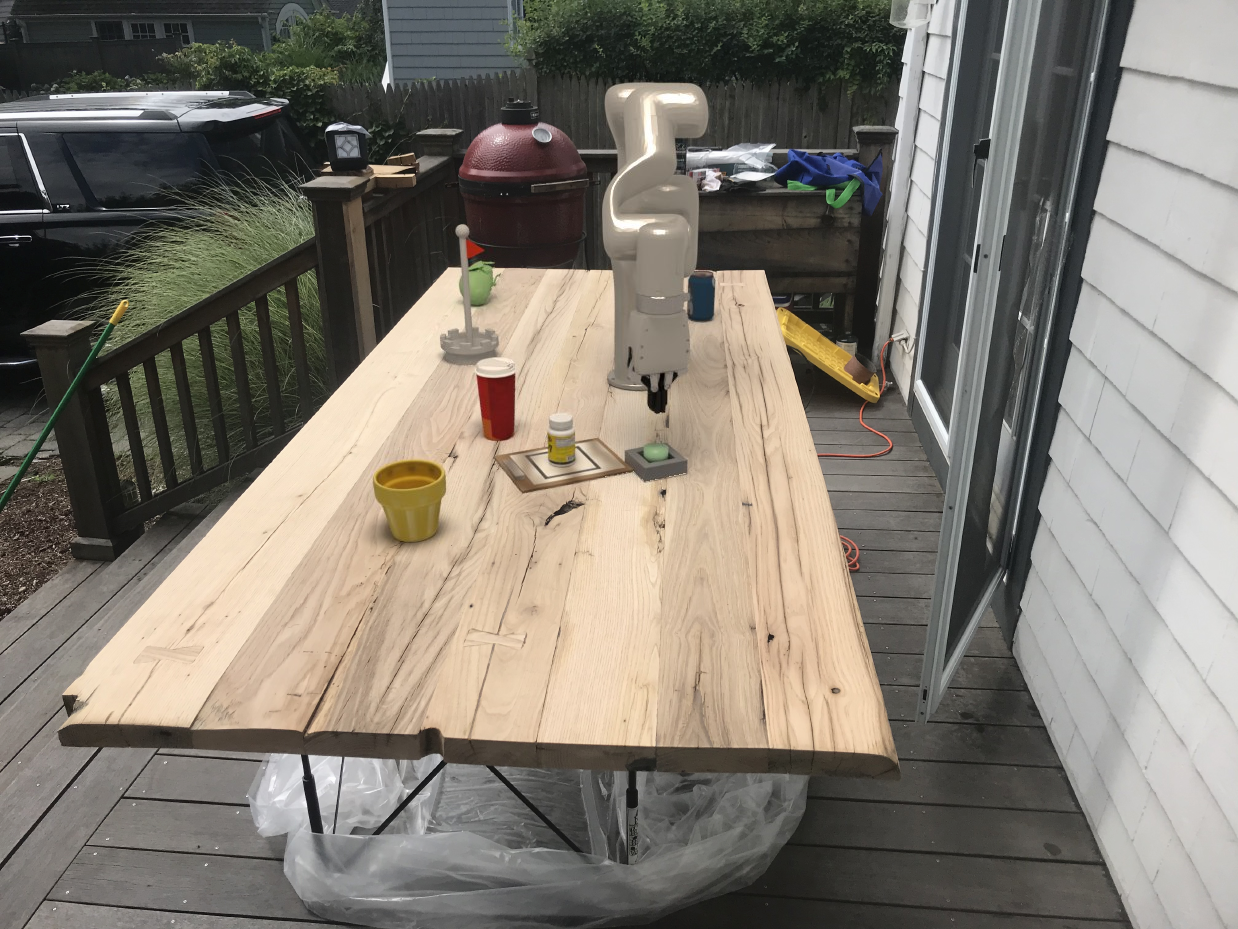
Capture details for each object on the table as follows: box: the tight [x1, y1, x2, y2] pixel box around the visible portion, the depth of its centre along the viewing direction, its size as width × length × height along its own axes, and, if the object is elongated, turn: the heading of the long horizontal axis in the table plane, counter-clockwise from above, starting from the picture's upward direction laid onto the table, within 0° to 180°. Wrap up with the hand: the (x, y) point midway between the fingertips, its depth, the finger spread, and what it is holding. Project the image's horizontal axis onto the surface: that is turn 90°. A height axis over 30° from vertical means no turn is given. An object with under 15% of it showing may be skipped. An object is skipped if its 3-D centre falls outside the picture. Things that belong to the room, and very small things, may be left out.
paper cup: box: [473, 356, 518, 442], centre depth 173 cm, size 8×8×14 cm
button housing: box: [624, 442, 689, 482], centre depth 162 cm, size 8×8×3 cm
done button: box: [643, 442, 668, 463], centre depth 162 cm, size 4×4×3 cm
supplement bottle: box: [546, 412, 576, 467], centre depth 162 cm, size 5×5×8 cm
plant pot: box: [372, 458, 447, 543], centre depth 141 cm, size 10×10×10 cm
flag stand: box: [439, 223, 500, 367], centre depth 210 cm, size 13×13×30 cm
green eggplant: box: [458, 260, 502, 306], centre depth 255 cm, size 12×11×11 cm
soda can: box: [686, 269, 717, 323], centre depth 242 cm, size 7×7×12 cm
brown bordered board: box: [493, 437, 633, 494], centre depth 164 cm, size 20×15×1 cm
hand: (657, 410), depth 158 cm, fingers closed
